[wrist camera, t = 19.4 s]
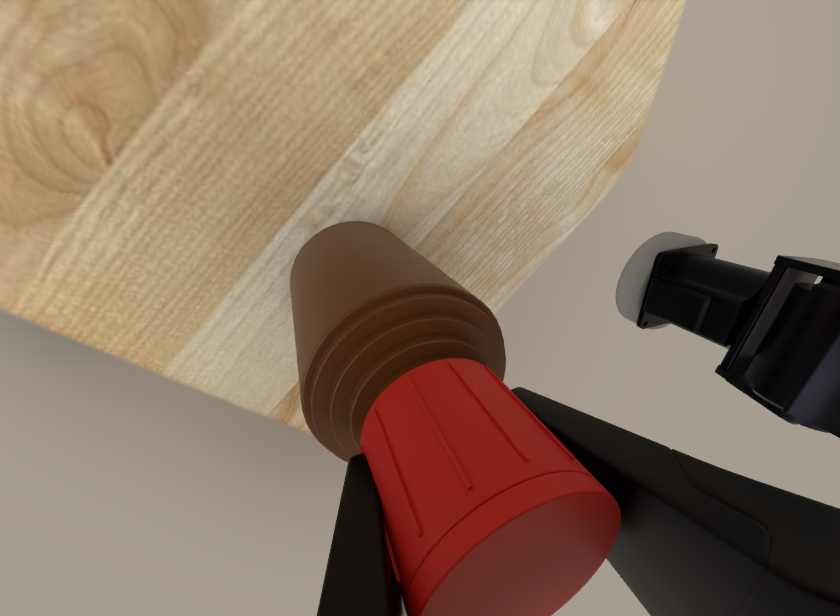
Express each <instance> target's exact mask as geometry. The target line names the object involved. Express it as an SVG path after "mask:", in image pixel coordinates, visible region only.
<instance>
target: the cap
mask: <svg viewBox="0 0 840 616" xmlns="http://www.w3.org/2000/svg"><path fill="white" fill-rule="evenodd" d="M360 443H361V446H360V452H361V454H363V453H365V455H366V458H367V461H368V464H369V466H370V469H371V472H372V475H373V478H374V481H375V484H376V487H377V490H378V494H379V498H380V502H381V507H382V512H383V518H384V524H385V531H386V539H387V547H388V552H389V558H390V562H391V566H392V569H393V573H394V576H395V580H396V584H398V585H399V589H400V593H401V596H402V600H403V604H404V607H405V611H406V613H407V616H551V615H552V614H553V613H555V612H556V611H557V610H558V609H560V608H561V607H562V606H563V605H564V604H565V603H567V602H568V601H569V600H570V599H571V598H572V597H573V596H574V595H575V594H576V593H577V592H578V591H579V590H580V589H581V588H582V587H583V586H584V585H585V584H586V583H587V582H588V581H589V579H590V578H591V577H592V576H593V575H594V574H595V572H596V571H597V570H598V568H599V567H600V566H601V564H602V563H603V562H604V560H605V558H606V557H607V555H608V554H609V552H610V550H611V548H612V546H613V545H614V542H615V540H616V538H617V535H618V532H619V529H620V523H621V511H620V508H619V505H618V503H617V501H616V500H615V498H614V497H613V496H612V495H611V494H610V493H609V492H608V491H607V490H606V489H605V488H604V487H603V486H602V485H601V484H600V483H599V482H598V481H597V480H596V479H595V478H594V476H593V475H592V474H591V473H590V472H589V471H588V470H587V469H586V468H585V467H584V466H583V465H582V464H581V463H580V462H579V461H578V460H577V459H576V458H575V457H574V456H573V454H572V453H571V452H570V451H569V450H568V449H567V448H566V447H565V446H564V445H563V444H562V443H561V442H560V441H559V440H558V439H557V438H556V437H555V436H554V435H553V434H552V433H551V432H550V431H549V430H548V428H547V427H546V426H545V425H544V424H543V423H542V422H541V421H540V420H539V419H538V418H537V417H536V416H535V415H534V414H533V413H532V412H531V411H530V410H529V409H528V408H527V407H526V406H525V405H524V404H523V402H522V401H521V400H520V399H519V398H518V397H517V396H516V395H515V394H514V393H513V392H512V391H511V390H510V389H509V388H508V387H507V386H506V385H505V384H504V383H503V382H502V381H501V380H500V379H499V378H498V376H497V375H496V374H495V373H494V372H493V371H492V370H491V369H490V368H489V367H488V366H486V365H483V364H481V363H479V362H476V361H474V360H469V359H464V358H446V359H440V360H435V361H432V362H429V363H425V364H423V365H421V366H418V367H416V368H414V369H412V370H410V371H409V372H407V373H405V374H404V375H402V376H401V377H399V378H398V379H396V380H395V381H394V382H393V383H392V384H390V385H389V386H388V387H387V388H386V389H385V390H384V391H383V392H382V393H381V394H380V395H379V397H378V398H377V399H376V401H375V402H374V403H373V405H372V407H371V408H370V410H369V412H368V414H367V416H366V418H365V421H364V424H363V428H362V431H361V439H360Z"/></svg>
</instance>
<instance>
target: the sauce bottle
mask: <svg viewBox="0 0 840 616" xmlns="http://www.w3.org/2000/svg"><path fill="white" fill-rule="evenodd" d="M290 287H291V298H292V309H293V319H294V330H295V341H296V351H297V362H298V373H299V383H300V394H301V403H302V411H303V414H304V417H305V420H306V423H307V425H308V427H309V429H310V430H311V432H312V434H313V435H314V436H315V437H316V439H317V440H318V441H319V442H320V443H321V444H322V445H323V446H324V447H325V448H327V449H328V450H329V451H331V452H332V453H333V454H335V455H336V456H337V457H339V458H341V459H342V460H344V461H346V462H349V459H350V458H351V457H352V456H354V455H357V454H359V453H361V452H360V446H361V443H360V439H361V431H362V428H363V424H364V421H365V418H366V416H367V414H368V412H369V410H370V408H371V407H372V405H373V403H374V402H375V401H376V399H377V398H378V397H379V395H380V394H381V393H382V392H383V391H384V390H385V389H386V388H387V387H388V386H389V385H390V384H392V383H393V382H394V381H395V380H396V379H398V378H399V377H401V376H402V375H404V374H405V373H407V372H409V371H410V370H412V369H414V368H416V367H418V366H421V365H423V364H425V363H429V362H432V361H435V360H440V359H446V358H464V359H469V360H474V361H476V362H479V363H481V364H483V365H486V366H488V367H489V368H490V369H491V370H492V371H493V372H494V373H495V374H496V375H497V376H498V378H499V379H500V380H501V381H502V382H503V379H504V374H505V365H506V357H505V348H504V340H503V336H502V332H501V329H500V326H499V324H498V322H497V320H496V318H495V316H494V315H493V313H492V312H491V310H490V309H489V308H488V307H487V306H486V305H485V304H484V303H483V302H482V301H481V300H479V299H478V298H477V297H475V296H474V295H473V294H471V293H470V292H469V291H467V290H466V289H465V288H463V287H462V286H461V285H459V284H458V283H457V282H455V281H454V280H453V279H451V278H450V277H449V276H447V275H446V274H445V273H443V272H442V271H441V270H439V269H438V268H437V267H435V266H434V265H433V264H432V263H430V262H429V261H428V260H426V259H425V258H424V257H422V256H421V255H420V254H418V253H417V252H416V251H414V250H413V249H412V248H410V247H409V246H408V245H406V244H405V243H404V242H402V241H401V240H400V239H398V238H397V237H396V236H394V235H393V234H392V233H390V232H389V231H387V230H385V229H384V228H382V227H379V226H377V225H374V224H370V223H366V222H345V223H340V224H336V225H333V226H330V227H328V228H326V229H324V230H322V231H320V232H319V233H317V234H316V235H315V236H313V237H312V238H311V239H310V240H309V241H308V242H307V243H306V244H305V245H304V246H303V248H302V249H301V251H300V252H299V253H298V255H297V257H296V259H295V262H294V265H293V268H292V272H291V279H290Z"/></svg>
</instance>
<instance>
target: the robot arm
mask: <svg viewBox="0 0 840 616" xmlns="http://www.w3.org/2000/svg"><path fill="white" fill-rule="evenodd" d="M717 250H718V245H717V244H712V243H709V244H703V245H697V246H691V247H685V248H679V249H673V250H667V251H661V252H659V253H658V254H657V255H656V257H655V260H654V264H653V267H652V271H651V274H650V278H649V281H648V285H647V288H646V292H645V295H644V299H643V302H642V306H641V309H640V313H639V316H638V320H637V324H636V325H637V326H638V327H640V328H642V329H645V328H649V327H653V326H657V325H661V324H664V323H668V322H669V323H671V324H673V325H676V326H678V327H680V328H682V329H685V330H687V331H690V332H691V333H694V334H696V335H698V336H700V337H703V338H705V339H707V340H709V341H712V342H714V343H716V344H718V345H720V346H723V347H725V348H727V349H729V350H728V352H727V354H726V356H725V357H724V359H723V361H722V363H721V365H718V367H717V368H716V370H715V372H716V373H717V374H719V375H720V376H722V377H723V378H725V380H726V381H727V382H729V383H730V384H732V385H733V386H735V387H736V388H737V389H739V390H740V391H742V392H743V393H745V394H746V395H748V396H749V397H751V398H752V399H754V400H755V401H757V402H758V403H760V404H761V405H763V406H764V407H765V408H767V409H768V410H770V411H771V412H773V413H774V414H776V415H777V416H779V417H780V418H783V419H784V420H785V421H787V422H789V423H791V424H800V425H802V426H805V427H808V428H811V429H814V430H818V431H822V432H828V433H831V434H833V435H835V436H837V437H839V438H840V263H835V262H830V261H825V260H820V259H815V258H805V257H793V256H780V255H778V256H777V258H776V260H775V262H774V264H775V266H774V267H773V269H772V271H771V272H766V271H763V270H759V269H755V268H751V267H747V266H743V265H739V264H735V263H731V262H727V261H723V260H719V259H715V256H716V253H717ZM818 276H822V277H823V278H822V280H821V282H820V283H818V284H814V282H815V280H816V279H817V277H818ZM511 391H512V392H513V393H514V394H515V395H516V396H517V397H518V398H519V399H520V400H521V401H522V402H523V404H524V405H525V406H526V407H527V408H528V409H529V410H530V411H531V412H532V413H533V414H534V415H535V416H536V417H537V418H538V419H539V420H540V421H541V422H542V423H543V424H544V425H545V426H546V427H547V428H548V430H549V431H550V432H551V433H552V434H553V435H554V436H555V437H556V438H557V439H558V440H559V441H560V442H561V443H562V444H563V445H564V446H565V447H566V448H567V449H568V450H569V451H570V452H571V453H572V454H573V456H574V457H575V458H576V459H577V460H578V461H579V462H580V463H581V464H582V465H583V466H584V467H585V468H586V469H587V470H588V471H589V472H590V473H591V474H592V475H593V476H594V478H595V479H596V480H597V481H598V482H599V483H600V484H601V485H602V486H603V487H604V488H605V489H606V490H607V491H608V492H609V493H610V494H611V495H612V496H613V497H614V498H615V500H616V501H617V503H618V505H619V508H620V511H621V523H620V529H619V532H618V535H617V538H616V540H615V542H614V545H613V546H612V548H611V550H610V552H609V554H608V555H607V557H606V559H607V560H608V561H609V562H610V564H611V565H612V566H613V568H614V569H615V570H616V571H617V573H618V574H619V575H620V577H621V578H622V579H623V580H624V582H625V583H626V584H627V586H628V587H629V588H630V589H631V591H632V592H633V593H634V595H635V596H636V597H637V598H638V600H639V601H640V602H641V604H642V605H643V606H644V607H645V608H646V610H647V611H648V613H649V614H650V615H651V616H840V509H839V508H836V507H833V506H830V505H826V504H824V503H821V502H818V501H815V500H812V499H809V498H806V497H803V496H800V495H797V494H794V493H791V492H788V491H785V490H782V489H779V488H776V487H773V486H771V485H767V484H765V483H762V482H759V481H755V480H753V479H750V478H747V477H744V476H741V475H739V474H736V473H733V472H730V471H727V470H725V469H722V468H719V467H717V466H714V465H712V464H709V463H707V462H704V461H701V460H699V459H696V458H693V457H691V456H689V455H686V454H684V453H681V452H679V451H676V450H674V449H672V450H670V448H668V447H666V446H664V445H661V444H659V443H657V442H654V441H652V440H649V439H647V438H644V437H642V436H639V435H637V434H635V433H632V432H630V431H627V430H625V429H622V428H620V427H617V426H615V425H612V424H610V423H608V422H605V421H603V420H600V419H598V418H595V417H593V416H591V415H588V414H586V413H583V412H581V411H578V410H576V409H573V408H571V407H568V406H566V405H564V404H561V403H559V402H556V401H554V400H551V399H549V398H546V397H544V396H542V395H539V394H537V393H534V392H532V391H529V390H527V389H525V388H521V387H517V388H514V389H512V390H511ZM317 616H407V613H406V611H405V607H404V604H403V600H402V596H401V593H400V589H399V585H398V584H396V580H395V576H394V573H393V569H392V566H391V562H390V558H389V552H388V547H387V539H386V531H385V524H384V518H383V512H382V507H381V502H380V498H379V494H378V490H377V487H376V484H375V481H374V478H373V475H372V472H371V469H370V466H369V464H368V461H367V458H366V455H365V453H363V454H361V453H359V454H357V455H354V456H352V457H351V458H350V459H349V462H348V466H347V472H346V476H345V481H344V486H343V491H342V496H341V500H340V506H339V510H338V515H337V520H336V525H335V530H334V534H333V540H332V545H331V549H330V554H329V559H328V564H327V569H326V574H325V578H324V584H323V588H322V593H321V598H320V603H319V607H318V612H317Z"/></svg>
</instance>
